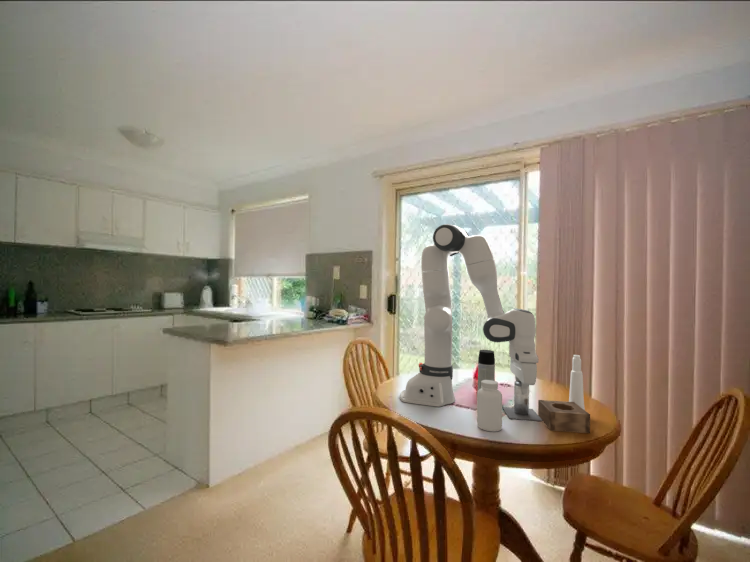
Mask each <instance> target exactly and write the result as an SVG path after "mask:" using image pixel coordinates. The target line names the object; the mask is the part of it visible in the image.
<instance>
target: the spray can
mask: <svg viewBox="0 0 750 562" xmlns="http://www.w3.org/2000/svg"><path fill="white" fill-rule="evenodd" d="M477 359H478V361H477V362H478V363H477V391H478V390H479V389H481V381H482V380H493V381H496V380H495V379H496V376H495V374H496V372H495V371H496V370H495V369H496V367H495V366H496V358H495V351H494V350H491V349H480V350H479V353H478V358H477Z"/></svg>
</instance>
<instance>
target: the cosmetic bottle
mask: <svg viewBox="0 0 750 562" xmlns="http://www.w3.org/2000/svg"><path fill="white" fill-rule="evenodd" d="M572 355H573V356H572V360H571V361H572V365H571V366H572V367H571V368H572V370H570V381H569V395H568V397H569V398H568V402H575V403H576V404H577V405H578V406H580V407H581V408H582V409H584V410H585V411H586V409H585V398H584V377H583V371H582V358H581V355H579V354H572Z"/></svg>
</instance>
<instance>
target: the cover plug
mask: <svg viewBox="0 0 750 562" xmlns="http://www.w3.org/2000/svg"><path fill="white" fill-rule="evenodd" d="M513 388H514V389H513V398H514V399H513V408H514V412H515V413H517V414H521V415H527V414H529V409H530V385H529V386H528V389H527V394H523V393H522V392H521V388H522V384H521V381H516V380H515V381H514V385H513Z"/></svg>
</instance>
